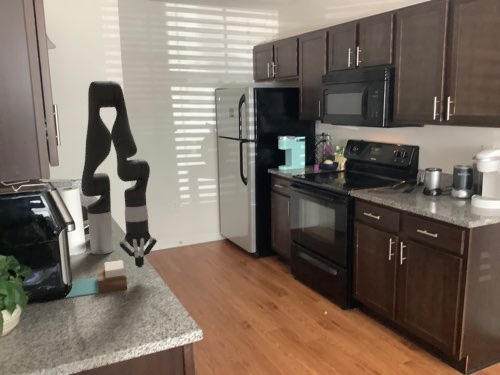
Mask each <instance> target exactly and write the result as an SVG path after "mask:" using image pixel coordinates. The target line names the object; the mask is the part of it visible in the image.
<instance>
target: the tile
mask: <svg viewBox="0 0 500 375" xmlns="http://www.w3.org/2000/svg"><path fill="white" fill-rule="evenodd" d="M123 265H124V262H123V260H122V259H121V260H115V261H114V260H113V261H106V262H104V267H105V276H106V278H109V277H117V276H124V267H125V265H124V266H123Z"/></svg>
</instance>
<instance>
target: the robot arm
mask: <svg viewBox="0 0 500 375" xmlns="http://www.w3.org/2000/svg"><path fill="white" fill-rule="evenodd" d="M87 91H88V92H87V94H88V98H87V101H88V105H87V107H88V108H87V110H88V111H87V115H88V116H87V128H86V129H87V130H86V138H85V148H84V149H85V150H84V151H85V152H84V153H85V154H84V165H83V171H82V175H81V176H82V177H81V183H80V185H81V186H80V187H81V192H82V194H83V196H84V197H99V196H100V197H99V198H98V199H97V200H96V201H94V202H92V203H90V204H89V205H87V206H88V207H86V208H87V220H88V232H89V233H88V234H89V243H90V244H89V245H90V253H91V254H93V255H104V254H106V255H107V254H110V253H112V252H114V250H115V246H114V233H113V231H112V230H113V220H112V218H111V217H112V200H111V180H110V176H109V175H108V173H106V172H99V173H96V170H97V169H98V168H99V167H100V165H102V163H104V162H105V161H106V159H107V157H108V156H109V155H110V153H111V150H112V144H113V147H114V150H115V154H116V164H117V165H116V172H117V173H116V175H117V177H118V179H119V180H121V181H122V182H125V183H127V182H128V183H129V182H135V184H134V185H133V186H131V187H129V188H126V189H125V190H124V193H123V194H124V196H123V197H124V220H125V235H124V239H123V240H122V241H119V243H118V244H119V247H120V248H121V249H122V250H123V251H124V252H125V253H126V254H127V255H128V256H129V257H133V258H134V263H135V267H137V268H143V266H144V265H145V261H144V260H145V258H144V257H145V256H146V255H149V254H150V252H151V251H152V250H153V248H154V247H155V245H156V244H157V242H158V241H157V239H156V237H152V236H151V233H150V230H149V228H150V227H149V214H148V206H147V188H148V182H149V178H150V174H151V170H150V169H151V168H150V167H151V166H150V165H149V162H148V161H147V160H146V159H142V158H140V159H138V158H137V159H129V158H132V157H134V156H135V155H136V154H137V153H138V147H137V143H136V142H135V138H134V135H133V133H132V129H131V126H130V121H129V115H128V111H127V105H126V101H125V95H124V91H123V89H122V86H121V84H120V83H119V82H118V81H114V80H94V81H91V82H90V83H89V86H88V90H87ZM101 108H102V109H103V108H104V109H105V108H106V109H107V108H115V112H116V116H115V119H114V122H113V124H112V128H111V132H110V129H109V128H108V126H107V124H105V122H104V120H103V118H102V117H101V113H100V112H101ZM147 243H148V245H147ZM128 245H129V246H130V247H131V248H132V249H133V251H132V250H131V249H130V248H129V247H128ZM146 245H147V246H146ZM145 246H146V248H145Z"/></svg>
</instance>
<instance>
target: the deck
mask: <svg viewBox="0 0 500 375" xmlns="http://www.w3.org/2000/svg"><path fill="white" fill-rule="evenodd" d="M123 266H124V276H117V277H109V278H106V276H105V266H104V267H97V268H96V270H97V272H96V273H97V277H98V291H99V293H98V294H100V293H107V292H114V291H121V290H128V279H127V274H126V268H125V264H123Z"/></svg>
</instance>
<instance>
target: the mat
mask: <svg viewBox="0 0 500 375" xmlns="http://www.w3.org/2000/svg"><path fill="white" fill-rule="evenodd" d="M72 281H73V286H72V290H71V292H70V293H69V294H68V295H67V296H66V297H65V296H64V299H70V298H76V297H83V296H90V295H96V294H100V293H99V291H98V276H96V277H91V278H82V279H75V280H72Z"/></svg>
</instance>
